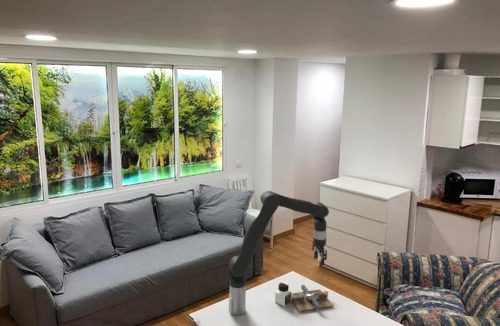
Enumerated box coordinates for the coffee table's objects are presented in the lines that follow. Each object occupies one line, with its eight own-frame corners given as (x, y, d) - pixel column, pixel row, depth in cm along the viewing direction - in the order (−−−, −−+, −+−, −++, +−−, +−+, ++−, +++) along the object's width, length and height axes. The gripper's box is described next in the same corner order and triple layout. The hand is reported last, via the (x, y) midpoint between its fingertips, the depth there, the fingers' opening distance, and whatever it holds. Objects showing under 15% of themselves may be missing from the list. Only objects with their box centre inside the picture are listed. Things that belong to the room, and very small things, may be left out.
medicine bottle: (284, 306, 229) (285, 288, 227) (274, 302, 233) (275, 284, 231) (291, 301, 235) (291, 283, 232) (281, 297, 239) (281, 279, 236)
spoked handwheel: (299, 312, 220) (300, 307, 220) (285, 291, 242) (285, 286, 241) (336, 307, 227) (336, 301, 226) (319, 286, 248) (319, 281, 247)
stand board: (298, 313, 223) (298, 310, 223) (287, 296, 240) (287, 293, 240) (333, 307, 229) (333, 304, 229) (319, 291, 246) (320, 288, 246)
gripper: (308, 232, 231) (308, 257, 234) (319, 242, 217) (318, 268, 221) (320, 231, 233) (319, 255, 236) (331, 240, 219) (330, 266, 223)
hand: (319, 261), depth 229 cm, fingers open, 8 cm apart
